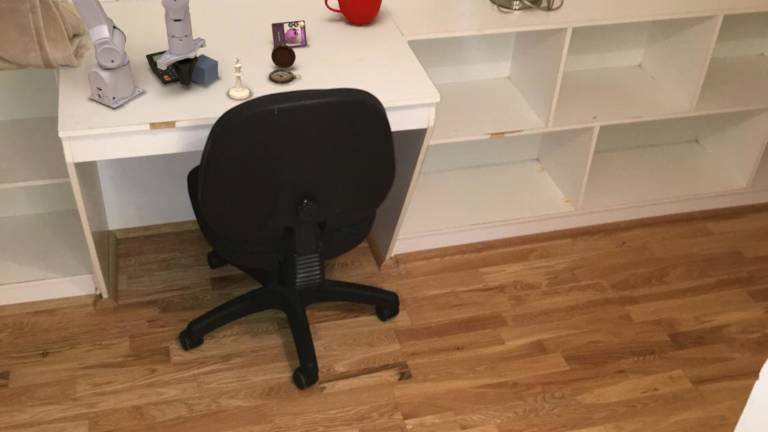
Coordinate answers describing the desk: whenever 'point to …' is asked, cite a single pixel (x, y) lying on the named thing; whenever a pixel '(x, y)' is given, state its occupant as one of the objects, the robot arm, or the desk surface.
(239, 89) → the chess piece
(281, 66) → the compass
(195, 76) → the slate block
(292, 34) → the purple printed box
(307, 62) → the desk surface
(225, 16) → the desk surface
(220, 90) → the desk surface
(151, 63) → the calculator
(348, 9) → the ceramic cup
